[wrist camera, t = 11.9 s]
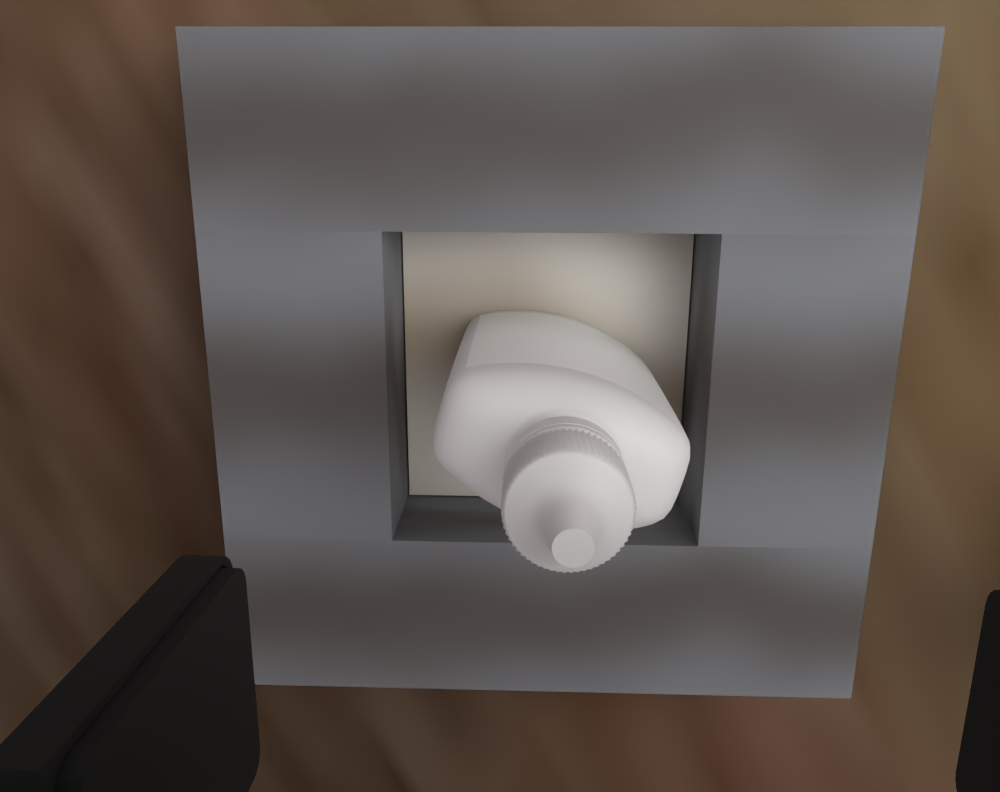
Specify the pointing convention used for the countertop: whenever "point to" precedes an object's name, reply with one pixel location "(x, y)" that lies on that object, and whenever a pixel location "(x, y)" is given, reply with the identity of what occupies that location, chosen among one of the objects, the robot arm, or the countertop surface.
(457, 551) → the holder block
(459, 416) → the eye dropper bottle
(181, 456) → the countertop surface
